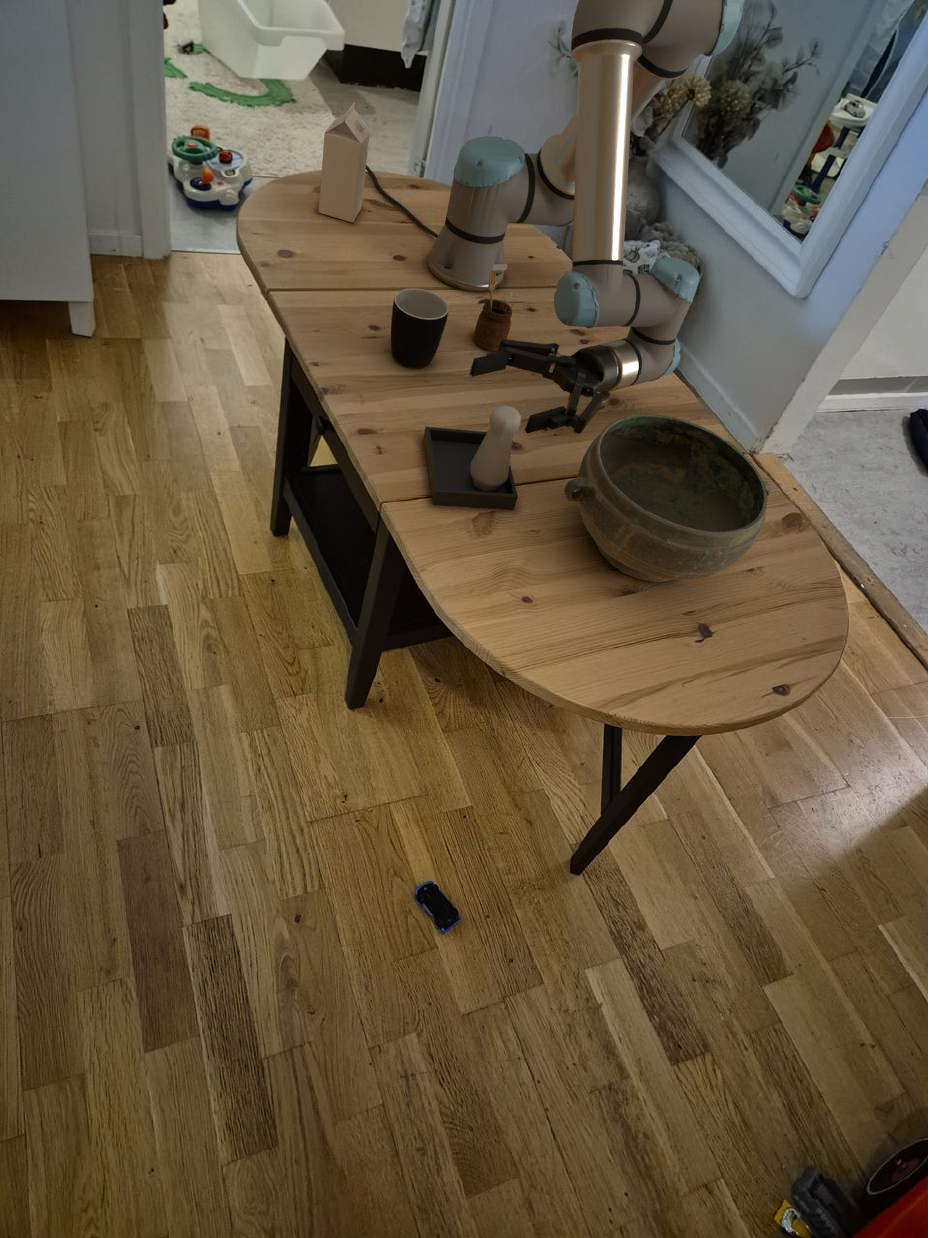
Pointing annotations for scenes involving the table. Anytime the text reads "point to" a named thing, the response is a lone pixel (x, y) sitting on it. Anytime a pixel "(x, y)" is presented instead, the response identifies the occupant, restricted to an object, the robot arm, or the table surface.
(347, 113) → the milk carton
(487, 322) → the utensil holder
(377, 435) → the table surface
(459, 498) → the tray
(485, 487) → the salt shaker
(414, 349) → the mug
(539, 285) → the table surface
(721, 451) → the bowl
